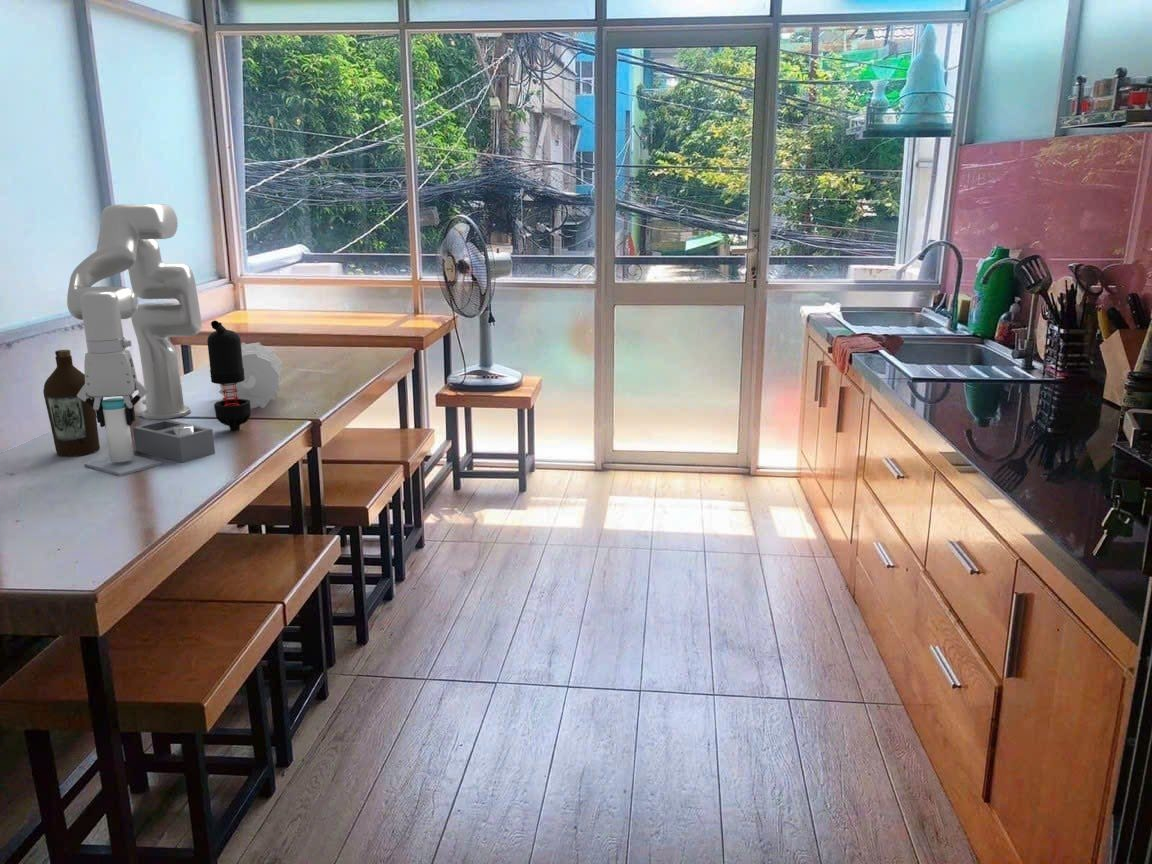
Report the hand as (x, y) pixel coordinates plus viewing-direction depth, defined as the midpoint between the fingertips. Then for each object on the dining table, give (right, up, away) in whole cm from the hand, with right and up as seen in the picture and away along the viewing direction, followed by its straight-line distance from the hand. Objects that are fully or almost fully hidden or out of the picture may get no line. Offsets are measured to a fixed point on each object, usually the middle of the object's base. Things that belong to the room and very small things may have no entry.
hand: (117, 423), depth 206 cm
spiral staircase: (+9, +6, +62) cm, 63 cm away
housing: (+8, -7, +13) cm, 16 cm away
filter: (+15, -1, +34) cm, 37 cm away
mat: (0, -10, +3) cm, 10 cm away
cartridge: (0, -8, +2) cm, 8 cm away
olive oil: (-17, -7, +14) cm, 22 cm away
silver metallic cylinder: (+12, -5, +10) cm, 16 cm away
